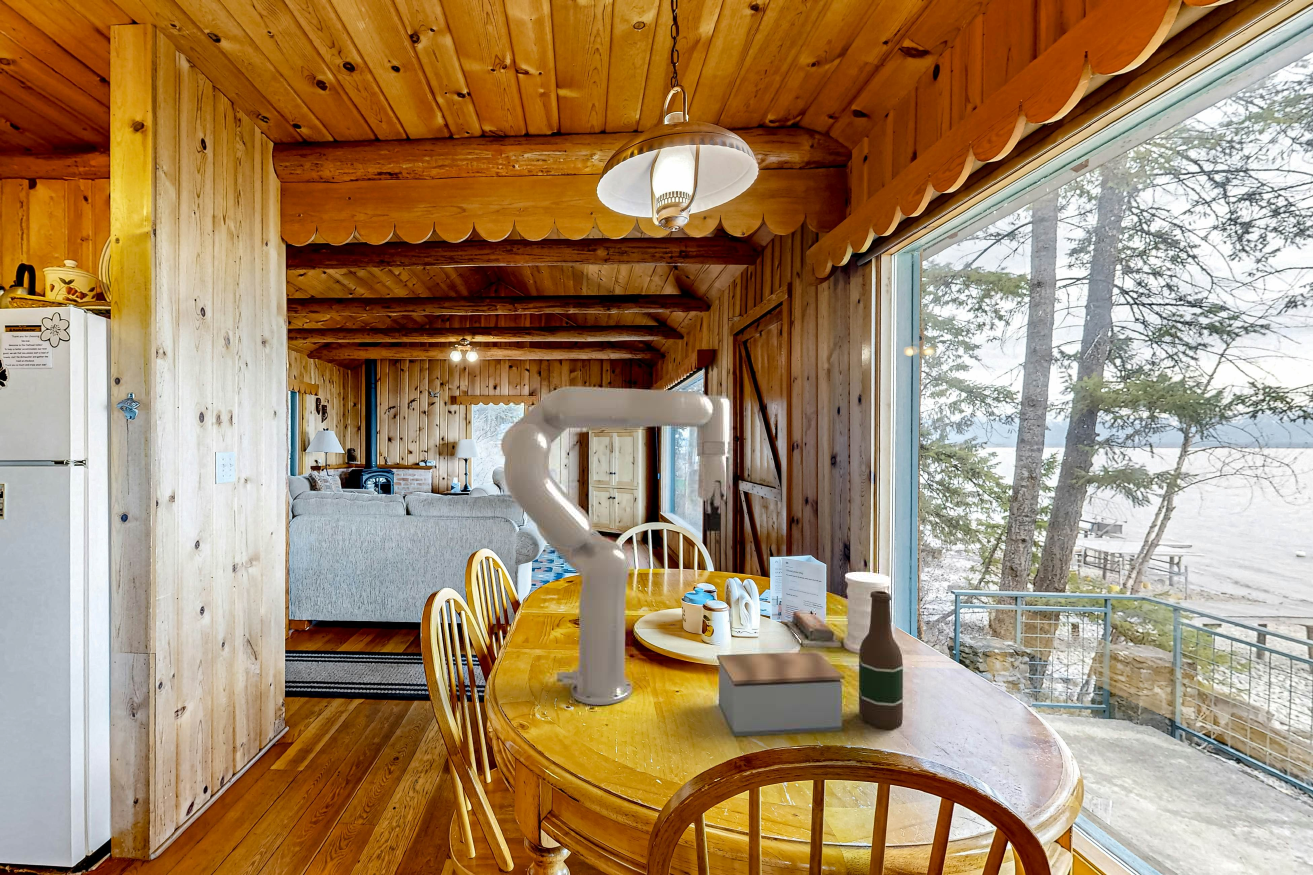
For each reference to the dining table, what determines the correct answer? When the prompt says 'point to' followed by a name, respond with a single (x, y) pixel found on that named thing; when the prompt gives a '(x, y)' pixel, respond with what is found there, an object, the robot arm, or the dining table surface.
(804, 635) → the packaged product
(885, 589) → the decorative container
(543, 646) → the dining table surface
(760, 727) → the crate
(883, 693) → the beer bottle
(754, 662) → the lid
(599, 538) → the robot arm
